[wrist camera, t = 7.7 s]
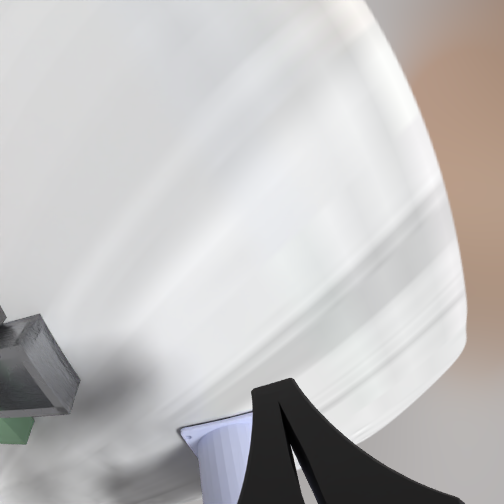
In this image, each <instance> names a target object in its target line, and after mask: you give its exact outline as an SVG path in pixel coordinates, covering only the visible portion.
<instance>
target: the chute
mask: <svg viewBox="0 0 504 504" xmlns="http://www.w3.org/2000/svg"><path fill="white" fill-rule="evenodd" d="M79 383H80V379H79V377H78V376H77V374H76V373H75V371H74V370H73V368H72V367H71V365H70V364H69V362H68V361H67V359H66V357H65V356H64V354H63V353H62V351H61V349H60V348H59V346H58V344H57V343H56V341H55V339H54V338H53V336H52V334H51V333H50V331H49V329H48V327H47V326H46V324H45V322H44V320H43V318H42V317H41V315H40V314H37V315H34V316H30V317H26V318H23V319H19V320H15V321H12V322H8V323H4V324H1V325H0V387H1V388H2V390H1V392H0V418H19V417H39V416H53V415H65V414H70V412H71V409H72V405H73V402H74V399H75V396H76V392H77V389H78V386H79Z"/></svg>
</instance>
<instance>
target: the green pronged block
mask: <svg viewBox="0 0 504 504" xmlns="http://www.w3.org/2000/svg"><path fill="white" fill-rule="evenodd" d="M6 318H7V317H6V316H5V314H4V312H3V310H2V308H1V306H0V325H1V324H2V323H3V321H4V320H5V319H6ZM1 390H2V388H1V387H0V392H1ZM33 423H34V419H33V418H32V417H19V418H0V443H1V444H23V445H26V444H27V441H28V438H29V435H30V432H31V429H32V426H33Z"/></svg>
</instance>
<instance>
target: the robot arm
mask: <svg viewBox="0 0 504 504" xmlns="http://www.w3.org/2000/svg"><path fill="white" fill-rule="evenodd" d="M251 394H252V405H253V412H251V413H248V414H244V415H240V416H236V417H232V418H228V419H224V420H219V421H215V422H210V423H206V424H201V425H196V426H191V427H186V428H182V429H181V431H180V432H181V436H182V437H183V438H184V440H185V441H186V443H187V444H188V446H189V447H190V448H191V450H192V451H193V452H194V454H195V455H196V457H197V458H198V460H199V470H200V480H201V489H202V497H203V504H305V503H304V500H303V497H302V494H301V490H300V485H299V480H298V476H297V471H296V467H295V463H294V458H293V454H292V449H293V451H294V453H295V455H296V457H297V459H298V462H299V464H300V466H301V468H302V470H303V472H304V474H305V476H306V479H307V481H308V483H309V485H310V487H311V489H312V491H313V493H314V496H315V498H316V500H317V502H318V504H465V503H464V502H463V501H461V500H460V499H459V498H457V497H455V496H452V495H448V494H446V493H443V492H440V491H437V490H435V489H432V488H430V487H427V486H425V485H422V484H420V483H418V482H416V481H414V480H411V479H410V478H408V477H406V476H404V475H402V474H400V473H398V472H396V471H395V470H393V469H391V468H389V467H387V466H386V465H384V464H382V463H381V462H379V461H378V460H376V459H375V458H373V457H372V456H370V455H369V454H367V453H366V452H365V451H363V450H362V449H360V448H359V447H358V446H357V445H355V444H354V443H353V442H351V441H350V440H349V439H348V438H347V437H346V436H344V435H343V434H342V433H341V432H340V431H339V430H337V429H336V428H335V427H334V426H333V425H332V424H331V423H330V422H329V421H328V420H327V419H326V418H325V417H324V416H323V415H322V414H321V413H320V412H319V411H318V410H317V409H316V408H315V406H314V405H313V404H312V403H311V402H310V401H309V399H308V398H307V397H306V396H305V395H304V393H303V392H302V391H301V389H300V388H299V386H298V385H297V383H296V382H295V380H294V379H292V378H288V379H285V380H281V381H278V382H275V383H271V384H268V385H265V386H261V387H258V388H254V389H253V390H252V391H251ZM290 444H291V445H290ZM291 446H292V449H291Z"/></svg>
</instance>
